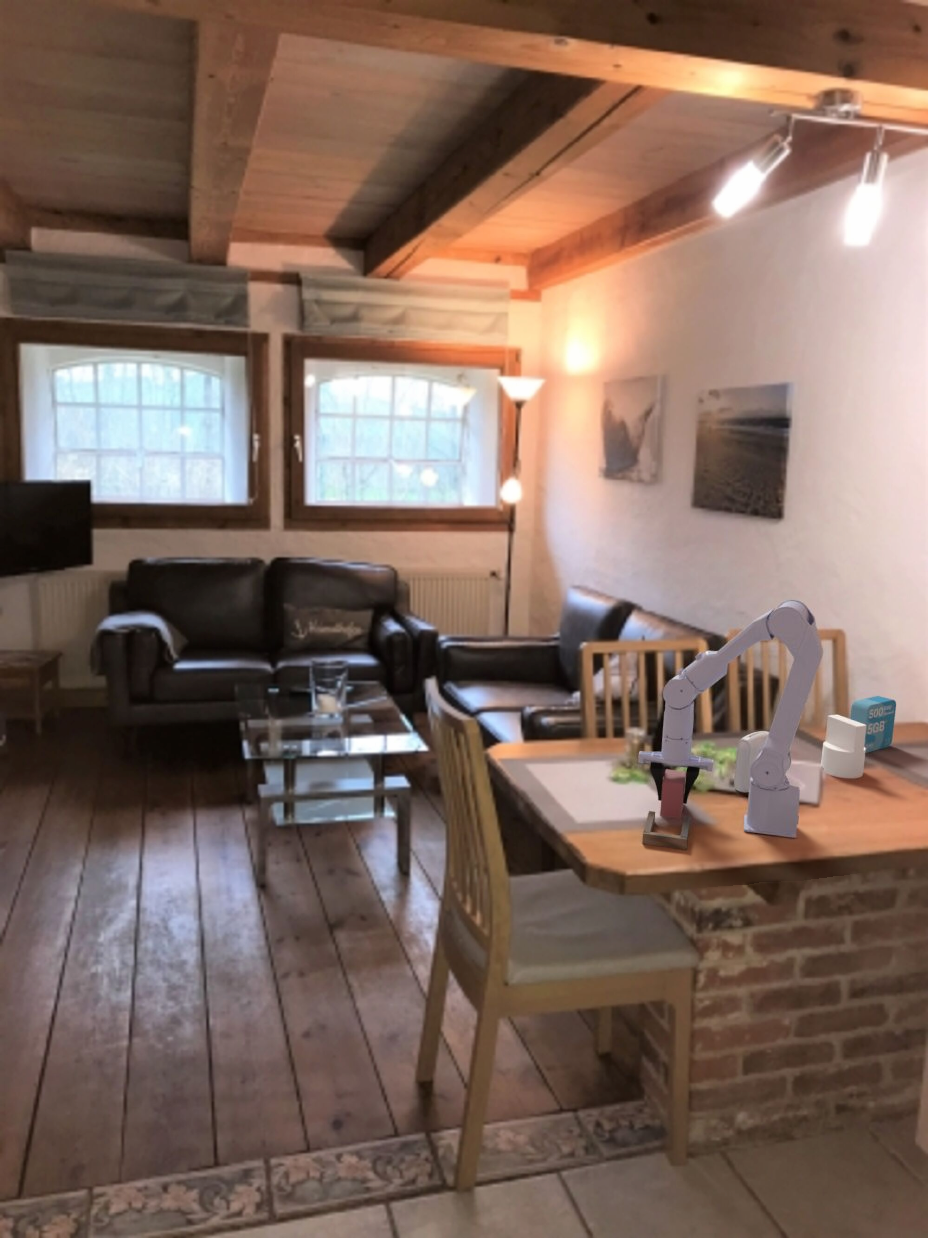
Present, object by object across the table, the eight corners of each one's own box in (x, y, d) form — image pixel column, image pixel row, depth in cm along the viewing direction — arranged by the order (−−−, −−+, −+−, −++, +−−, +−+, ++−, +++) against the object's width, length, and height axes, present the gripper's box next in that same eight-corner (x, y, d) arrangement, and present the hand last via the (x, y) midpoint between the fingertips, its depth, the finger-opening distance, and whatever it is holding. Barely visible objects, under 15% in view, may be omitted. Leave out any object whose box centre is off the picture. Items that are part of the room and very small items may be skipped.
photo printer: (762, 780, 220) (767, 726, 218) (778, 786, 216) (783, 731, 214) (730, 788, 214) (735, 733, 212) (745, 795, 211) (751, 738, 208)
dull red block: (683, 804, 205) (685, 771, 204) (680, 818, 197) (683, 784, 196) (663, 801, 206) (665, 769, 205) (660, 816, 198) (662, 782, 197)
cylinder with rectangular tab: (812, 767, 229) (817, 716, 227) (841, 762, 233) (846, 713, 231) (841, 780, 222) (847, 728, 219) (871, 775, 225) (877, 724, 223)
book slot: (689, 826, 193) (690, 816, 193) (685, 849, 183) (686, 839, 182) (648, 820, 196) (649, 811, 195) (642, 843, 185) (642, 833, 184)
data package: (862, 754, 240) (868, 705, 238) (846, 749, 244) (851, 701, 241) (891, 746, 247) (897, 699, 244) (875, 741, 250) (880, 694, 248)
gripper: (715, 733, 200) (710, 798, 203) (642, 725, 204) (638, 789, 207) (714, 744, 194) (709, 810, 196) (638, 735, 198) (634, 801, 200)
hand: (672, 800), depth 201 cm, fingers open, 4 cm apart
